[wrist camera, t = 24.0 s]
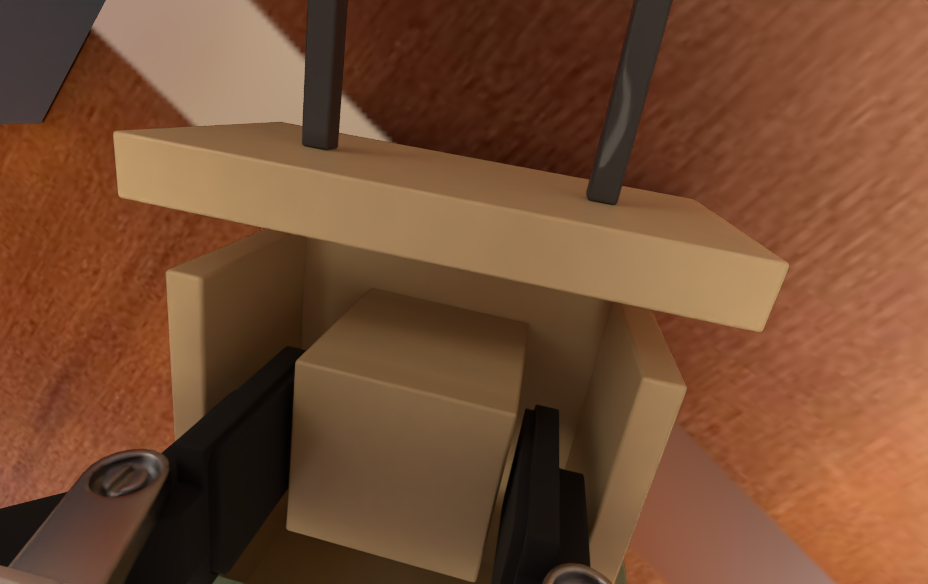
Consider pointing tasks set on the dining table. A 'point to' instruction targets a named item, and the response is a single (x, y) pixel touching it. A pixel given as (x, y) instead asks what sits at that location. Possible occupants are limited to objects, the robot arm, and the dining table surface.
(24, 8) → the block
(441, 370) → the block
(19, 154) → the dining table surface
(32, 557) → the robot arm
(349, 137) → the drawer
